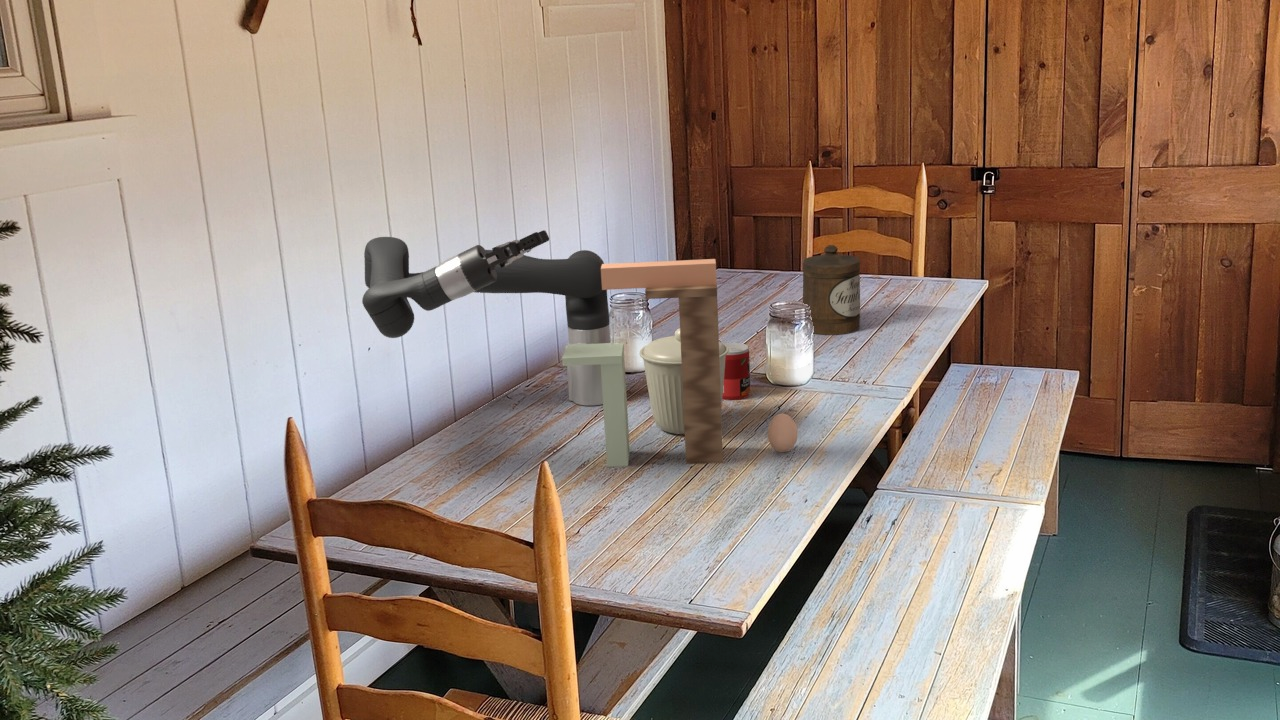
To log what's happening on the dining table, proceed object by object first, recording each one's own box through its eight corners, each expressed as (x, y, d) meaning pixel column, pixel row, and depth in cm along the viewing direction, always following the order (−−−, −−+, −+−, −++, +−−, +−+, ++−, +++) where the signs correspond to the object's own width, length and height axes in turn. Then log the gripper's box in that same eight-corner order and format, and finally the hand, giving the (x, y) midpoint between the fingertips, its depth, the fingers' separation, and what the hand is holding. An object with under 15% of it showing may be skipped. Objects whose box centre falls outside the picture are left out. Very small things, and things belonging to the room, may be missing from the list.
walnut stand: (654, 466, 228) (645, 291, 218) (655, 449, 236) (646, 280, 227) (723, 463, 227) (717, 287, 218) (721, 446, 236) (715, 277, 226)
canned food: (748, 400, 262) (747, 352, 259) (712, 400, 264) (710, 352, 261) (752, 389, 269) (751, 342, 266) (716, 389, 271) (715, 342, 268)
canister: (670, 448, 237) (665, 345, 231) (628, 423, 252) (622, 325, 246) (748, 429, 244) (745, 329, 238) (702, 406, 260) (699, 312, 254)
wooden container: (846, 337, 306) (846, 252, 300) (793, 332, 314) (792, 249, 308) (869, 323, 318) (869, 241, 312) (817, 318, 326) (816, 238, 320)
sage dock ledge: (570, 469, 229) (562, 358, 222) (574, 452, 237) (566, 344, 231) (628, 467, 228) (621, 355, 222) (629, 450, 237) (623, 342, 230)
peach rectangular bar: (602, 289, 221) (600, 268, 220) (603, 285, 225) (602, 264, 224) (716, 284, 220) (715, 263, 219) (715, 280, 224) (715, 258, 223)
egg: (797, 457, 229) (796, 419, 226) (766, 456, 230) (765, 418, 227) (798, 446, 234) (798, 409, 232) (768, 445, 235) (768, 409, 233)
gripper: (448, 256, 216) (529, 218, 214) (465, 252, 230) (540, 216, 228) (467, 294, 217) (547, 256, 215) (482, 288, 231) (558, 252, 229)
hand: (543, 235), depth 222 cm, fingers open, 8 cm apart
